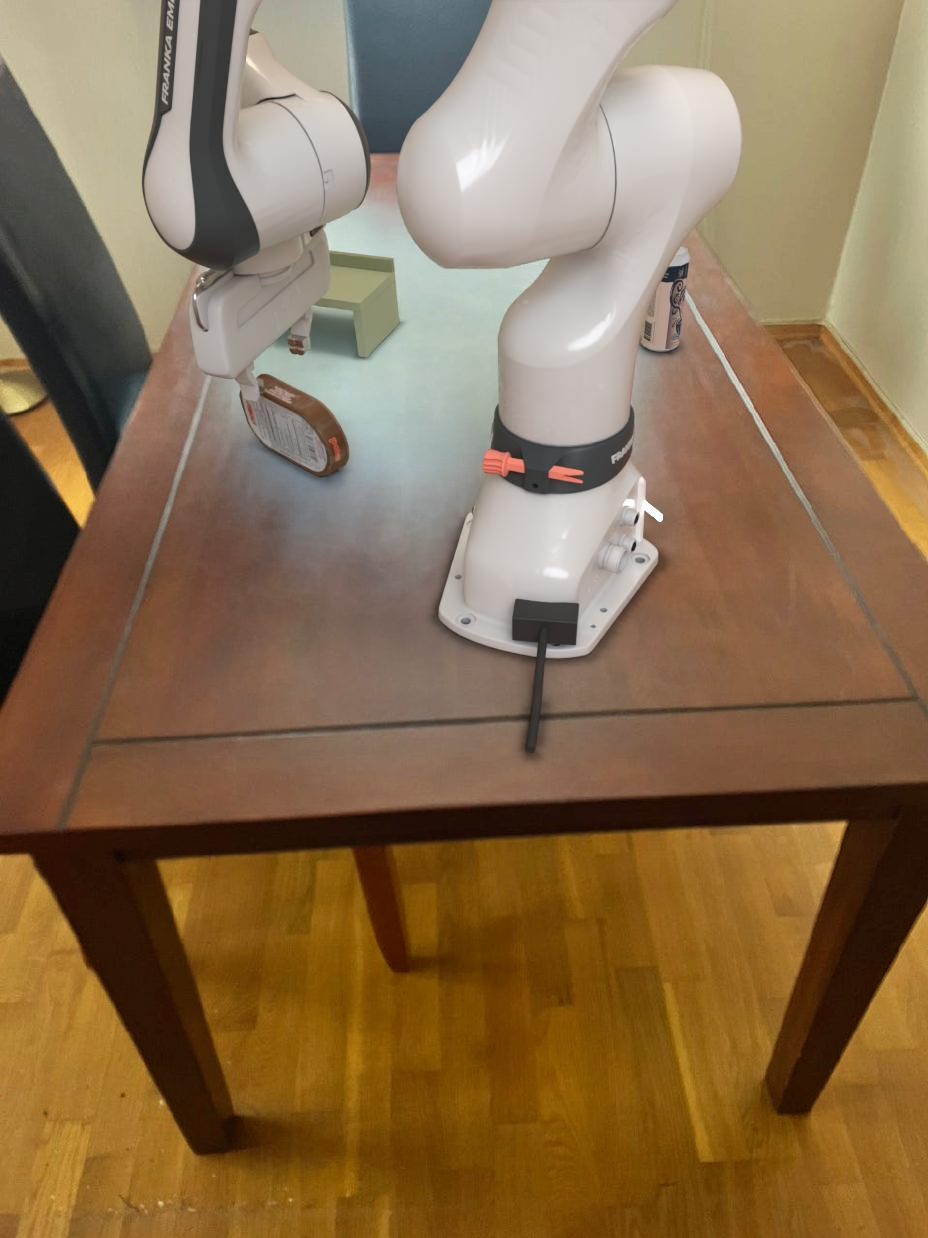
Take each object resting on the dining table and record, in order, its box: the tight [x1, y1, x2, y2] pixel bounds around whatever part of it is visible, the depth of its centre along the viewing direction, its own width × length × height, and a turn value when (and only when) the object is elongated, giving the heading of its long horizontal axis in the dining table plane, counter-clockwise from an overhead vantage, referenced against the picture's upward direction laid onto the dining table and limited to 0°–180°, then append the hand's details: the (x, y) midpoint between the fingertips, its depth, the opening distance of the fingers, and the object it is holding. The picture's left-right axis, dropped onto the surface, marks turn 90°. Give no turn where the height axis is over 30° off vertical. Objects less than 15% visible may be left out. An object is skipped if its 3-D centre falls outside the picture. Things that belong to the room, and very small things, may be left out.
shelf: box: [313, 249, 400, 359], centre depth 120 cm, size 10×20×9 cm, turn 68°
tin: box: [238, 373, 350, 477], centre depth 97 cm, size 15×3×8 cm, turn 47°
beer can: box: [640, 244, 691, 353], centre depth 112 cm, size 5×5×12 cm
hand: (278, 373), depth 94 cm, fingers open, 8 cm apart
